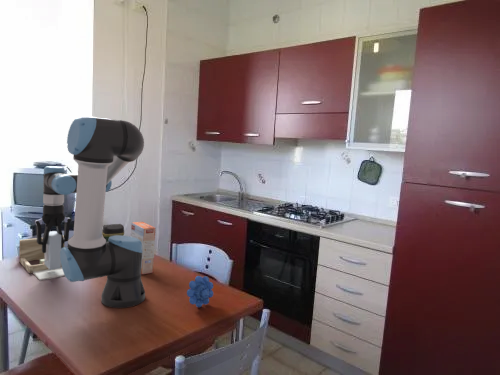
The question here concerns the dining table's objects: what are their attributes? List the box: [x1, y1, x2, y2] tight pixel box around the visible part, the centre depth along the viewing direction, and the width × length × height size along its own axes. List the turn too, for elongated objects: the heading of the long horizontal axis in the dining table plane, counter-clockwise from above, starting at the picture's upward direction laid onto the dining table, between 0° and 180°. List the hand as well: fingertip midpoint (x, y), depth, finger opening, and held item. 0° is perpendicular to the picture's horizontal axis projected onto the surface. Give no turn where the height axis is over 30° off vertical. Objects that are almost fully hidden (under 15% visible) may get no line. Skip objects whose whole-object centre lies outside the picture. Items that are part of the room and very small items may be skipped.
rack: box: [18, 234, 66, 274], centre depth 160 cm, size 18×18×10 cm
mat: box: [32, 267, 65, 281], centre depth 149 cm, size 10×12×1 cm
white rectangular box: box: [44, 230, 61, 270], centre depth 148 cm, size 8×4×14 cm, turn 44°
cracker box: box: [130, 221, 156, 276], centre depth 162 cm, size 14×6×21 cm, turn 39°
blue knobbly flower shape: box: [186, 275, 214, 308], centre depth 128 cm, size 12×7×12 cm, turn 134°
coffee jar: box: [102, 223, 125, 242], centre depth 167 cm, size 10×8×19 cm
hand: (52, 258), depth 149 cm, fingers closed on white rectangular box, 4 cm apart
